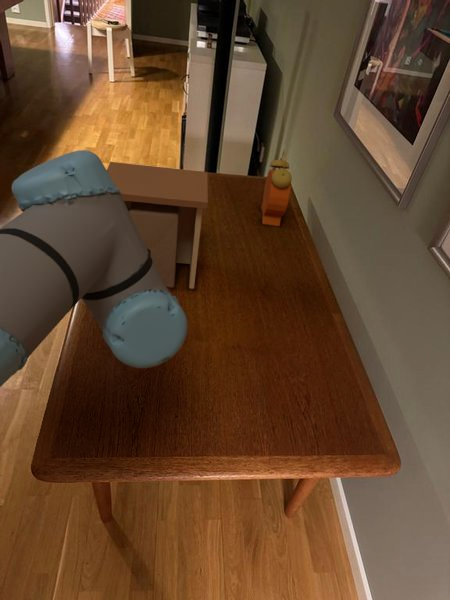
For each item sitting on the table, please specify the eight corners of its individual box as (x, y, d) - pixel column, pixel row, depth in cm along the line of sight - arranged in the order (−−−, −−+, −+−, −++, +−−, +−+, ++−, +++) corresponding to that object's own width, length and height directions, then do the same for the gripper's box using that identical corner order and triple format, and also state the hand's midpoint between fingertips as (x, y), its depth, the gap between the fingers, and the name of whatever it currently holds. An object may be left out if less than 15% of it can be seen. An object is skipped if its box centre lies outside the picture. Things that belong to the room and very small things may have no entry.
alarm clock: (281, 229, 122) (298, 166, 108) (261, 226, 121) (276, 163, 108) (278, 207, 131) (293, 147, 118) (259, 204, 131) (273, 144, 117)
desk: (197, 294, 95) (208, 202, 79) (106, 287, 93) (98, 191, 76) (197, 260, 105) (207, 172, 88) (115, 253, 102) (110, 161, 86)
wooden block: (131, 285, 94) (128, 210, 81) (136, 259, 102) (135, 187, 88) (174, 288, 95) (178, 215, 82) (176, 262, 103) (180, 192, 89)
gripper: (60, 313, 47) (46, 254, 66) (167, 302, 52) (126, 251, 72) (56, 251, 44) (42, 208, 63) (169, 247, 50) (125, 209, 69)
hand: (87, 231), depth 67 cm, fingers closed
